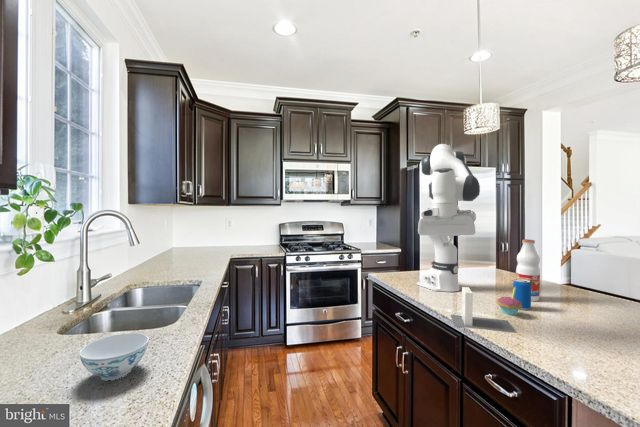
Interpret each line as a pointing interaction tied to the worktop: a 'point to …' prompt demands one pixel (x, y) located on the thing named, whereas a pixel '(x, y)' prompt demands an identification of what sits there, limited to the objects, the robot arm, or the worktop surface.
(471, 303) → the tile
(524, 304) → the beverage can
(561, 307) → the worktop surface
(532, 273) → the fruit juice
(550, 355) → the worktop surface
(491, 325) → the mat
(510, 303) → the cupcake
